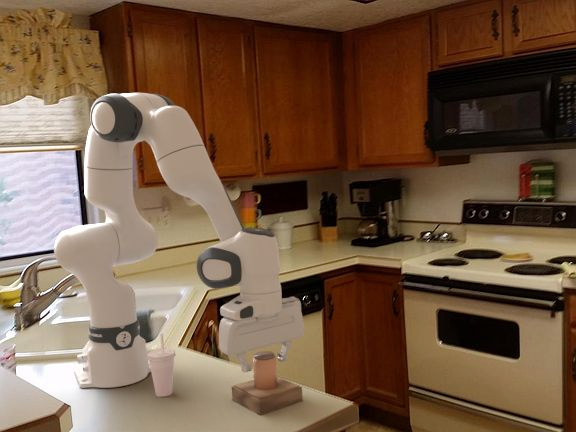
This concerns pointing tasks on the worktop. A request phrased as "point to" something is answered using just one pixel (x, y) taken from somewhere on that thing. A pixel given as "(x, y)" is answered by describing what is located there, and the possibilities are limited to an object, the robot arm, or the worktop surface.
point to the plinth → (266, 396)
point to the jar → (264, 370)
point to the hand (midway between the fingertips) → (265, 366)
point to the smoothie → (162, 369)
